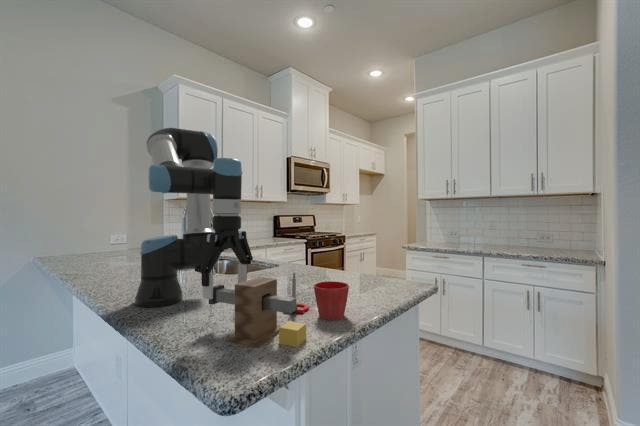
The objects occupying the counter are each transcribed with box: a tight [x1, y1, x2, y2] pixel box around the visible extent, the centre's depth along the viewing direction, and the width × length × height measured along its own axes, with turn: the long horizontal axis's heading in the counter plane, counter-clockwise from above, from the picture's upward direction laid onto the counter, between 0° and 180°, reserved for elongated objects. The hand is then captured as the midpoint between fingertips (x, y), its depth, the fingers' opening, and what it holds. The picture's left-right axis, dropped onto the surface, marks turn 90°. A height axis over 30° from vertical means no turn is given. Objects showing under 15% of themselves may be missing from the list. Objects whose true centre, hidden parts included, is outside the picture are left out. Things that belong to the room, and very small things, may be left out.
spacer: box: [278, 320, 307, 348], centre depth 77 cm, size 5×5×4 cm
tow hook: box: [291, 272, 310, 315], centre depth 102 cm, size 8×13×9 cm
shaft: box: [208, 284, 297, 314], centre depth 81 cm, size 26×4×4 cm, turn 65°
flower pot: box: [313, 280, 350, 321], centre depth 95 cm, size 11×11×10 cm
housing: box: [225, 276, 283, 348], centre depth 81 cm, size 9×13×14 cm
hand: (226, 291), depth 85 cm, fingers open, 13 cm apart
